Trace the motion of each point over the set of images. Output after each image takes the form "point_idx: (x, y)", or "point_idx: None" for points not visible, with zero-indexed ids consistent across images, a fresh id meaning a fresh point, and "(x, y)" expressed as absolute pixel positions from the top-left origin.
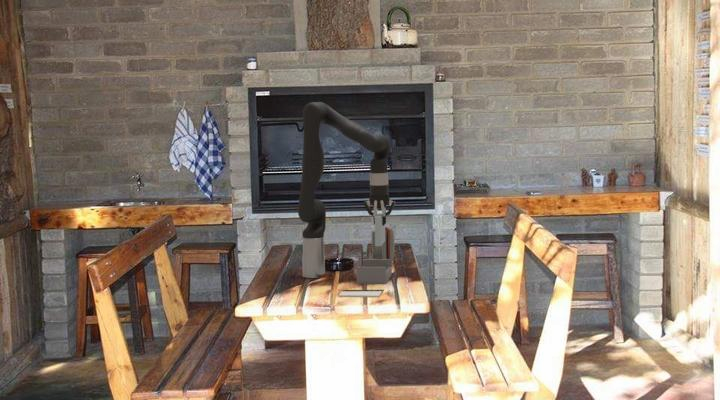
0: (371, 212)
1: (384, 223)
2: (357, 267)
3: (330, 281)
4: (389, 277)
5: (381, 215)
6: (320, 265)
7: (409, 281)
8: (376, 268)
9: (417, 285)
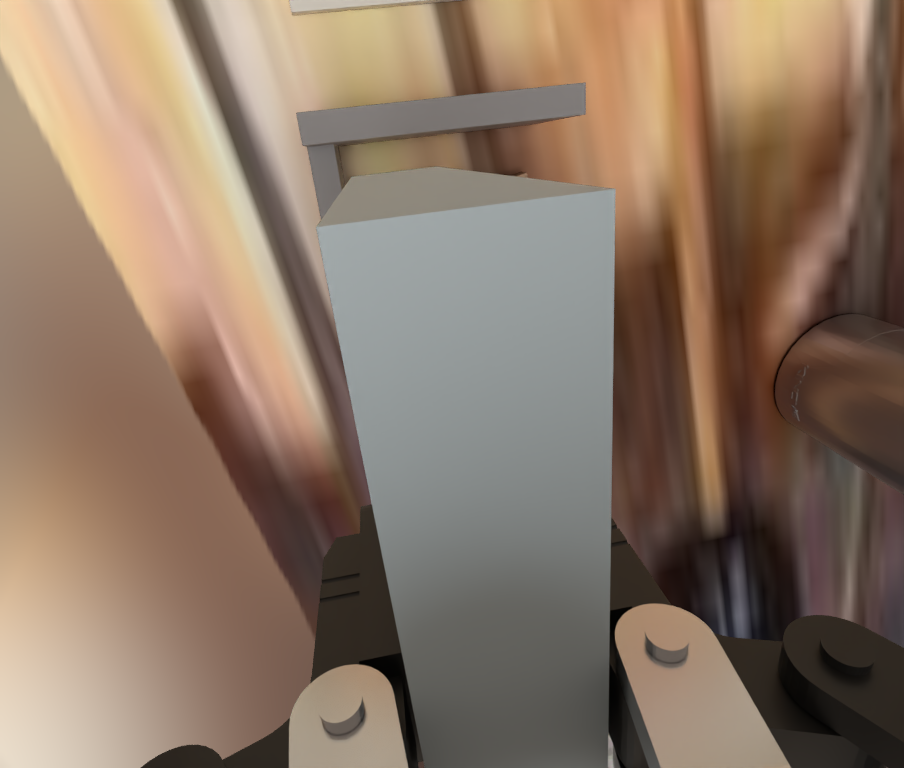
0: (835, 724)
1: (353, 544)
2: (573, 84)
3: (729, 246)
4: None
5: (414, 637)
6: (856, 368)
7: (209, 340)
8: (388, 105)
9: (89, 215)
